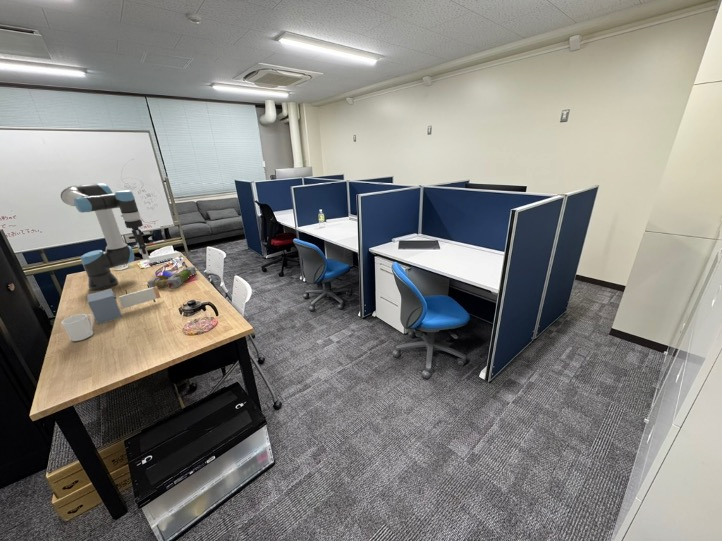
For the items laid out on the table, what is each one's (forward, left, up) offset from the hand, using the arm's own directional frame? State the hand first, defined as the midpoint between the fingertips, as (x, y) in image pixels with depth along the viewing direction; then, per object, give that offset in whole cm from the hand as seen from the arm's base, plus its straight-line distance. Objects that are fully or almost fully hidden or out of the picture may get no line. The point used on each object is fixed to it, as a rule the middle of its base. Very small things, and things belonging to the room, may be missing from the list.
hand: (144, 256), depth 167 cm
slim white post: (+9, -9, -24) cm, 27 cm away
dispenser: (+9, -24, -26) cm, 37 cm away
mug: (+24, -34, -27) cm, 49 cm away
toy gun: (-18, +13, -27) cm, 35 cm away
